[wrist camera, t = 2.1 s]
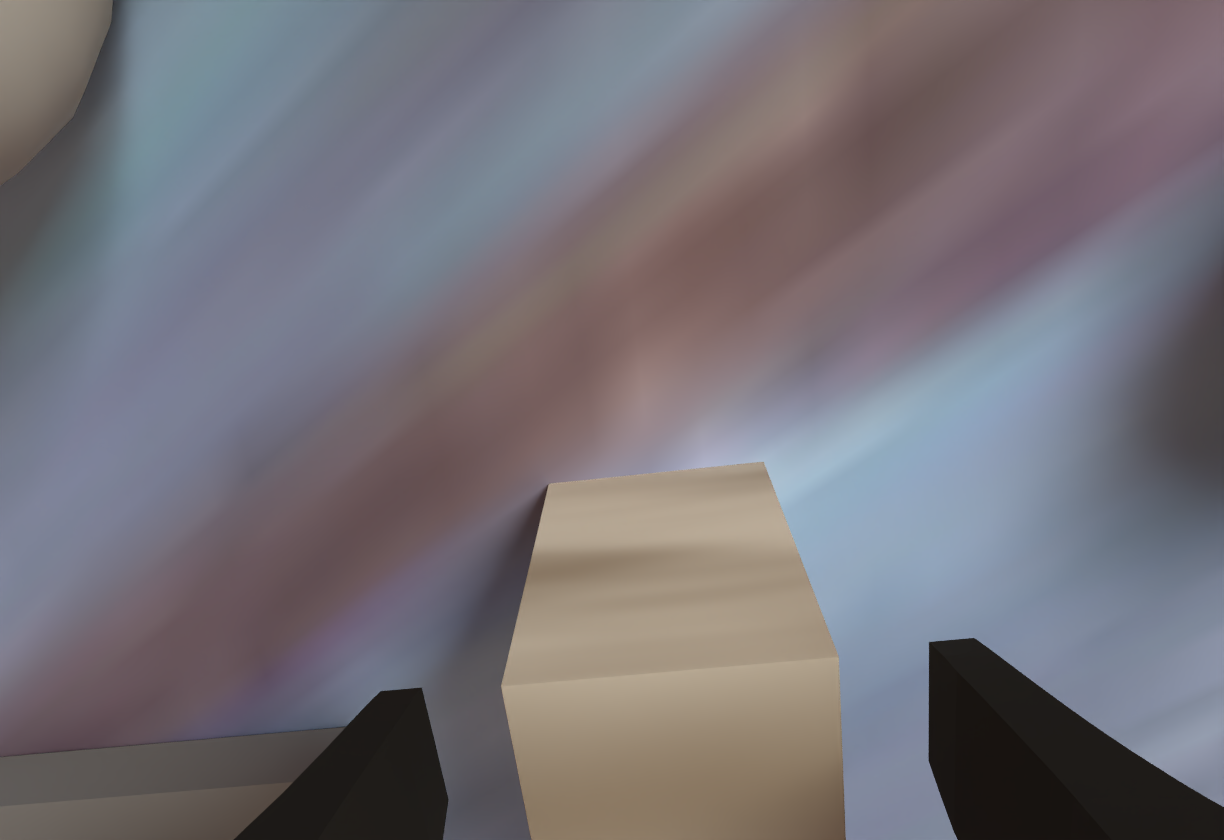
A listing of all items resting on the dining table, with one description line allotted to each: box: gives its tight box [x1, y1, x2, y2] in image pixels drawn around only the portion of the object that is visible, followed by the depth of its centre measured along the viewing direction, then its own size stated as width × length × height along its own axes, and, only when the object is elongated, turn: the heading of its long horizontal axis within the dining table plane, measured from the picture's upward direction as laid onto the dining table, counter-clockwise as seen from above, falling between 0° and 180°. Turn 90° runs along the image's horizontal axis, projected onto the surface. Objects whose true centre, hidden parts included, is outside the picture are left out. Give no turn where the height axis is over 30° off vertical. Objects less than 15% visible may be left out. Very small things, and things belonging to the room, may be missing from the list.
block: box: [501, 462, 846, 840], centre depth 13 cm, size 4×4×6 cm
